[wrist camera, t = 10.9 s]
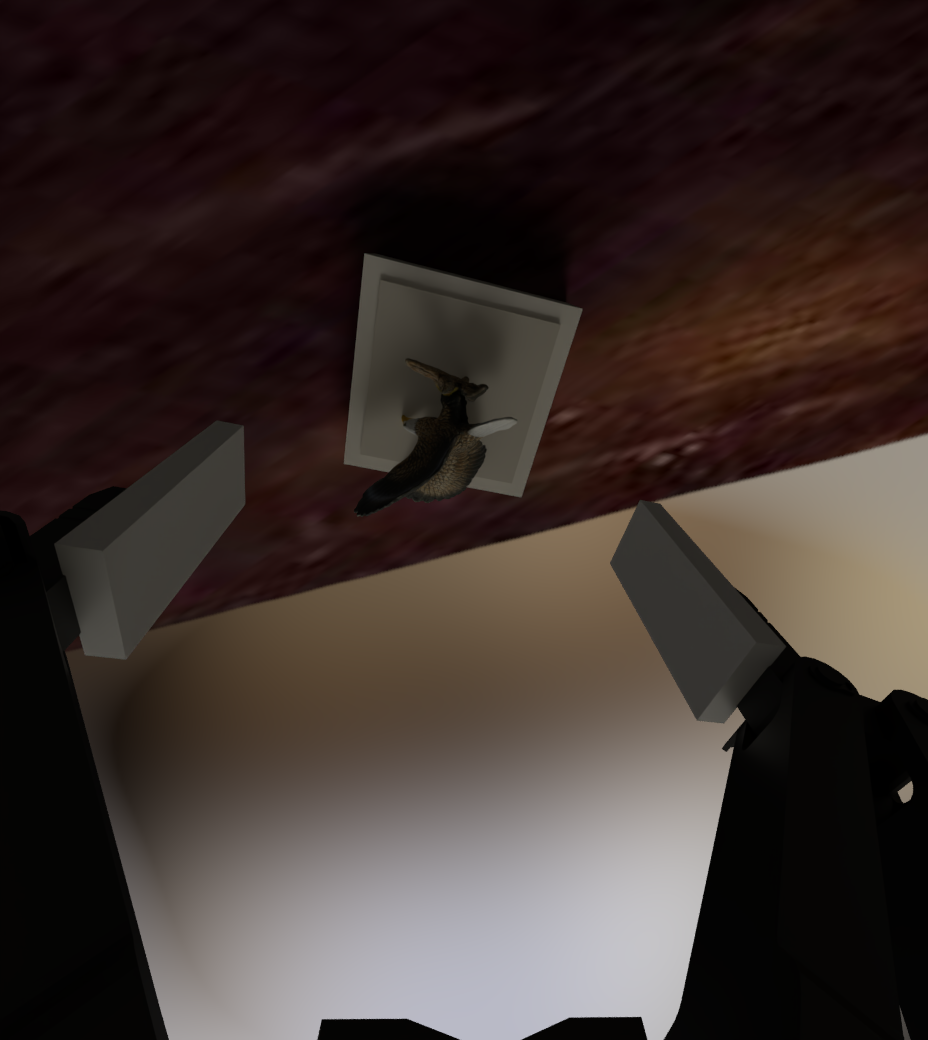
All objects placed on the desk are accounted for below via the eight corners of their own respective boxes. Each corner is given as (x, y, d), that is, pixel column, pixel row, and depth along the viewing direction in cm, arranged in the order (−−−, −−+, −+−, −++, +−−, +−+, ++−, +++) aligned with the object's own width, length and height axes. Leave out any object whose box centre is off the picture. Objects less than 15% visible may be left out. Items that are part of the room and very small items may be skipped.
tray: (354, 441, 33) (342, 465, 29) (375, 253, 27) (363, 253, 23) (513, 472, 34) (521, 499, 30) (566, 302, 28) (584, 309, 25)
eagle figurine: (368, 340, 24) (328, 494, 27) (443, 370, 19) (385, 554, 22) (472, 377, 29) (429, 503, 32) (551, 408, 24) (493, 553, 27)
